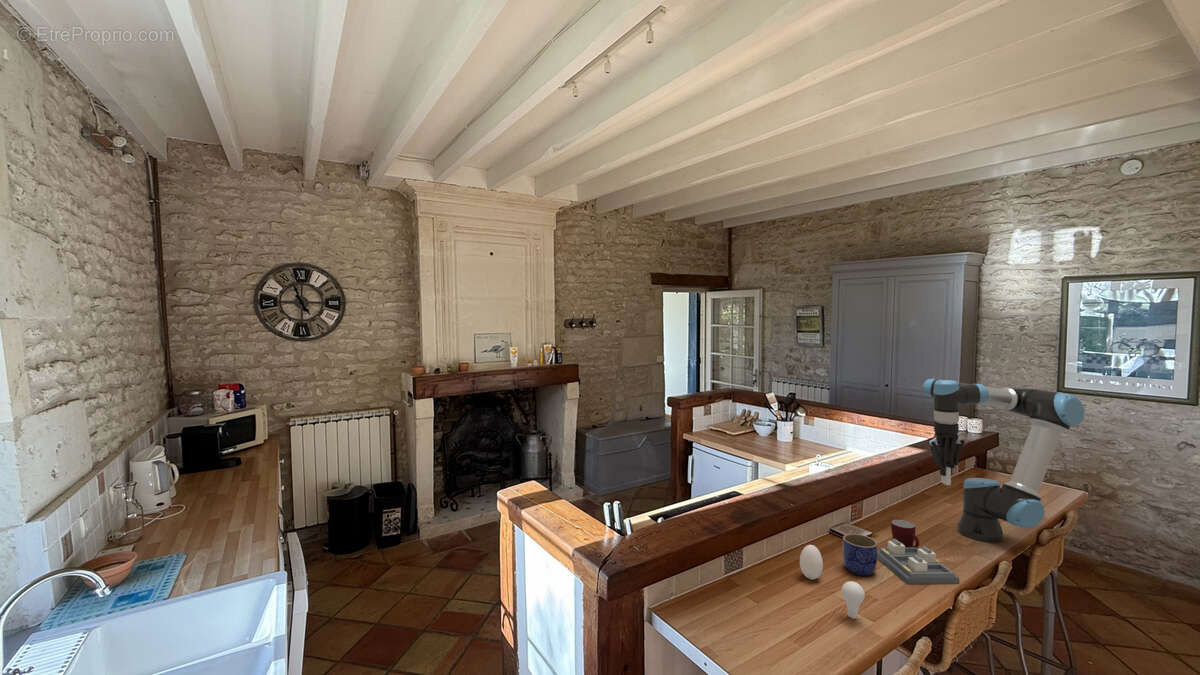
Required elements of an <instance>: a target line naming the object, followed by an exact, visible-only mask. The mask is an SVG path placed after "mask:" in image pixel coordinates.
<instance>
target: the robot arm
mask: <svg viewBox="0 0 1200 675" xmlns="http://www.w3.org/2000/svg"><path fill="white" fill-rule="evenodd" d="M922 392H923V393H924V394H925V395H926V396H927V397H931V398H933V420H934V421H933V430H934V435H933V438H932V439H931V440H929V439H928V440H927V444H928V445H929V446H930V451H931V455H932V459H933V463H934V465H935V466H939V474H940V475H941V484H943V485H945V486H952V476H953V469H955V468H956V466H958V465H959V461H960V458H961V455H962V454H961V453H962V450H963V446H964V445H965V443H966V441H965V440H964V439H961V438H960V437H959V435H958V434H959V429H960V428H959V427H960V426H959V419H960V415H959V414H960V411H959V410H960V406H968V405H969V406H970V405H980V406H981V405H982V406H987V407H988V406H990V407H995V408H998V410H1001V411H1006V412H1010V413H1015V414H1016V415H1020V416H1024V417H1027V418H1029V422H1030V423H1031V428H1030V430H1029V433H1028V435H1027V437H1026V440H1025V443H1024V444H1023V447H1022V451H1021V453H1020V455H1019V457H1018V460H1017V462H1016V465H1015V468H1014V469H1013V472H1012V474H1011V477H1010V479H1009V481H1006V482H1003V483H1002V486H1001V483H1000V481H998V480H995V479H991V478H984V477H968V478H966V479H965V480H964V482H963V489H962V490H963V496H962V497H963V498H962V503H963V504H962V508H963V509H962V514H961V516H960V518H959V521H958V522H957V526H956V528H957V532H958V533H959V534H961V535H963V536H965V537H967V538H970V539H973V540H975V541H980V542H981V541H982V542H985V543H986V542H987V543H1001V542H1003V541H1004V531H1003V529H1002V525H1001V523H1000V520H1002V521H1004V522H1007V523H1008V524H1010V525H1013V526H1017V527H1019V528H1021V529H1030V528H1033V527H1036V526H1038V525H1039V524H1040V523H1041V522H1042V520H1044V517H1045V514H1046V513H1045V512H1046V511H1045V506H1044V504H1043V503H1042V502H1041V501H1042V496H1041V494H1040V493H1039V491H1040V488H1041V485H1042V482H1043V480H1044V478H1045V475H1046V473H1047V471H1048V468H1049V466H1050V463H1051V461H1052V459H1053V458H1052V457H1053V456H1054V452H1055V451H1056V448H1057V445H1058V443H1059V441H1060V439H1061V436H1062V435H1063V434H1066V433H1068V432H1069V430H1070V428H1071V427H1076V426H1079V424H1081V423H1082V422H1083V420H1084V417H1085V406H1084V405H1083V402H1082V401H1081V400H1080V398H1079V397H1077V396H1075V395H1072V394H1069V393H1064V392H1061V391H1059V392H1057V391H1050V390H1043V389H1042V390H1041V389H1036V388H1021V387H1020V388H1019V387H1006V386H1005V387H1000V388H999V387H998V388H997V387H991V386H985V385H984V384H981V383H963V382H958V381H956V380H951V379H950V380H949V379H938V378H929V379H926V380H925V382H923V385H922Z"/></svg>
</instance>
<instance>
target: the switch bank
mask: <svg viewBox="0 0 1200 675" xmlns="http://www.w3.org/2000/svg"><path fill="white" fill-rule="evenodd" d="M917 549H922V547H921V548H920V547H919V546H918V547H905V555H891V554H890V553H889V552H888V551H887V550H888V547H879V551H877V560H878V561H879V562H880V563H882V564H883V565H885V566H886V568H888V569H889V570H890V571H891V572H892V573H894V575H896V576H897V577H898V578H899V579H900V580H901V581H902V582H904V583H905V584H906V585H917V584H918V585H920V584H922V585H923V584H929V585H931V584H935V585H936V584H941V585H942V584H960V577H959V576H958V575H956V573H955V572H954V571H952V570H951V569H950V568H948V567H947V566H945V564H942V563H941V561H940V560H938V559H937V558H936V563H928V564H927V573H913V572H912V571H911V570H910V569H908V557H913V555H917Z"/></svg>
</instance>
